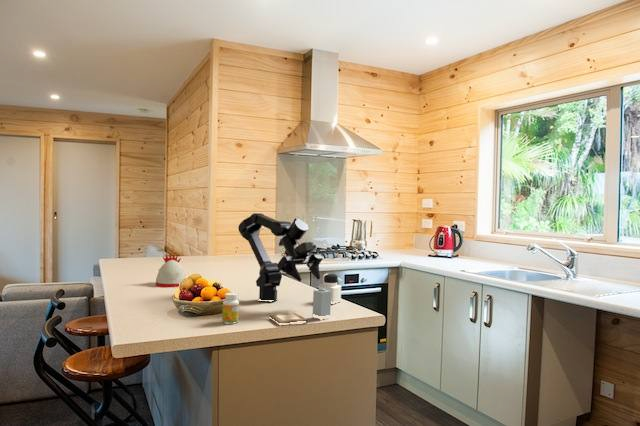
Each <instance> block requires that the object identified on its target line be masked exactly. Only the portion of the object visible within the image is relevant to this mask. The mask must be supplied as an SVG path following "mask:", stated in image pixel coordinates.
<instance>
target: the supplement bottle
mask: <svg viewBox="0 0 640 426" xmlns="http://www.w3.org/2000/svg"><path fill="white" fill-rule="evenodd" d="M224 295H225V297H224V298H225V299H224V300H223V301H222V321H221V322H222V323H223V322H225V323H234V322H239V314H240V312H239V311H240V301H239V300H238V293H236V292H227V293H225V294H224ZM225 323H224V324H225Z"/></svg>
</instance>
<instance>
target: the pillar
mask: <svg viewBox="0 0 640 426" xmlns="http://www.w3.org/2000/svg"><path fill="white" fill-rule="evenodd" d="M312 293H313V297H312V299H313V300H312V315H313V314H315V315H318V316H326V315H330V316H331V291H328V290H326V289H323V288H321V289H319V288H318V289H314V290H313V292H312Z"/></svg>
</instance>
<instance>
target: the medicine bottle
mask: <svg viewBox="0 0 640 426" xmlns="http://www.w3.org/2000/svg"><path fill="white" fill-rule="evenodd" d="M338 278H339V276H338V275H337V274H335V273H325V274H324V275H323V277H322V281H323V282H322V284H321V285H318V290H319V289H321V288H323V289H326V290H328V291H331V301H332V302H334V301H338V300H341V301H342V299H341V298H342V285H339V284H338V280H339V279H338Z"/></svg>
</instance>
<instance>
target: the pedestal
mask: <svg viewBox="0 0 640 426" xmlns="http://www.w3.org/2000/svg"><path fill="white" fill-rule="evenodd" d="M268 317H271V318H272V319H274V320H275V321H277V322H278V323H290V322H297V321H307V322H308V319H307V318H305V317H303V316H302V315H300V314H298V313H296V312H291V313H290V312H288V313H277V314H275V313H274V314H269V316H268Z"/></svg>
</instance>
